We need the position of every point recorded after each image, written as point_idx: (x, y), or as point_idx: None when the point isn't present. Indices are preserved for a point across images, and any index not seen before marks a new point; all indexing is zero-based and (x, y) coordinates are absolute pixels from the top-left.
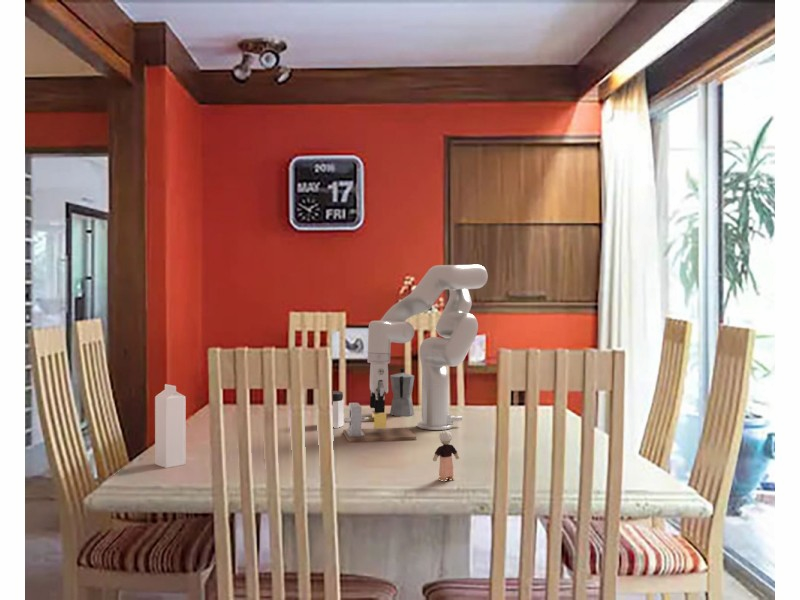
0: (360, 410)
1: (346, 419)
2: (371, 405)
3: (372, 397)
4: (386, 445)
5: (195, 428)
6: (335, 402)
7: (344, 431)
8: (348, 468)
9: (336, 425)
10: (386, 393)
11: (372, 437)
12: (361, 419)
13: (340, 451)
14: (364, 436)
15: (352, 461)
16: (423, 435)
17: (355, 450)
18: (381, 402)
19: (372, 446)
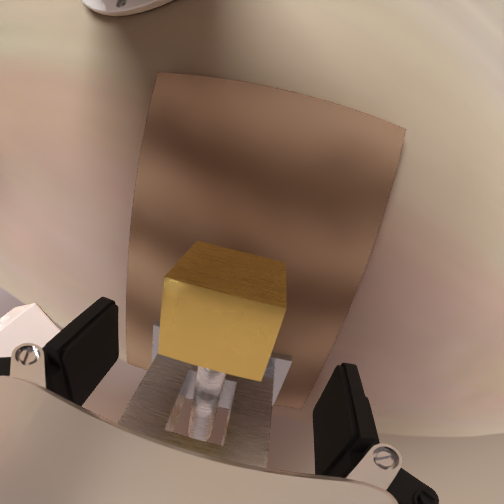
0: (265, 461)
1: (207, 438)
2: (110, 361)
3: (79, 398)
4: (425, 307)
5: None
6: None
7: None
8: (500, 424)
9: None
10: (358, 483)
11: (322, 334)
12: (219, 395)
13: (395, 434)
14: (291, 357)
15: (479, 418)
16: (313, 43)
17: (414, 406)
18: (372, 445)
19: (407, 355)
